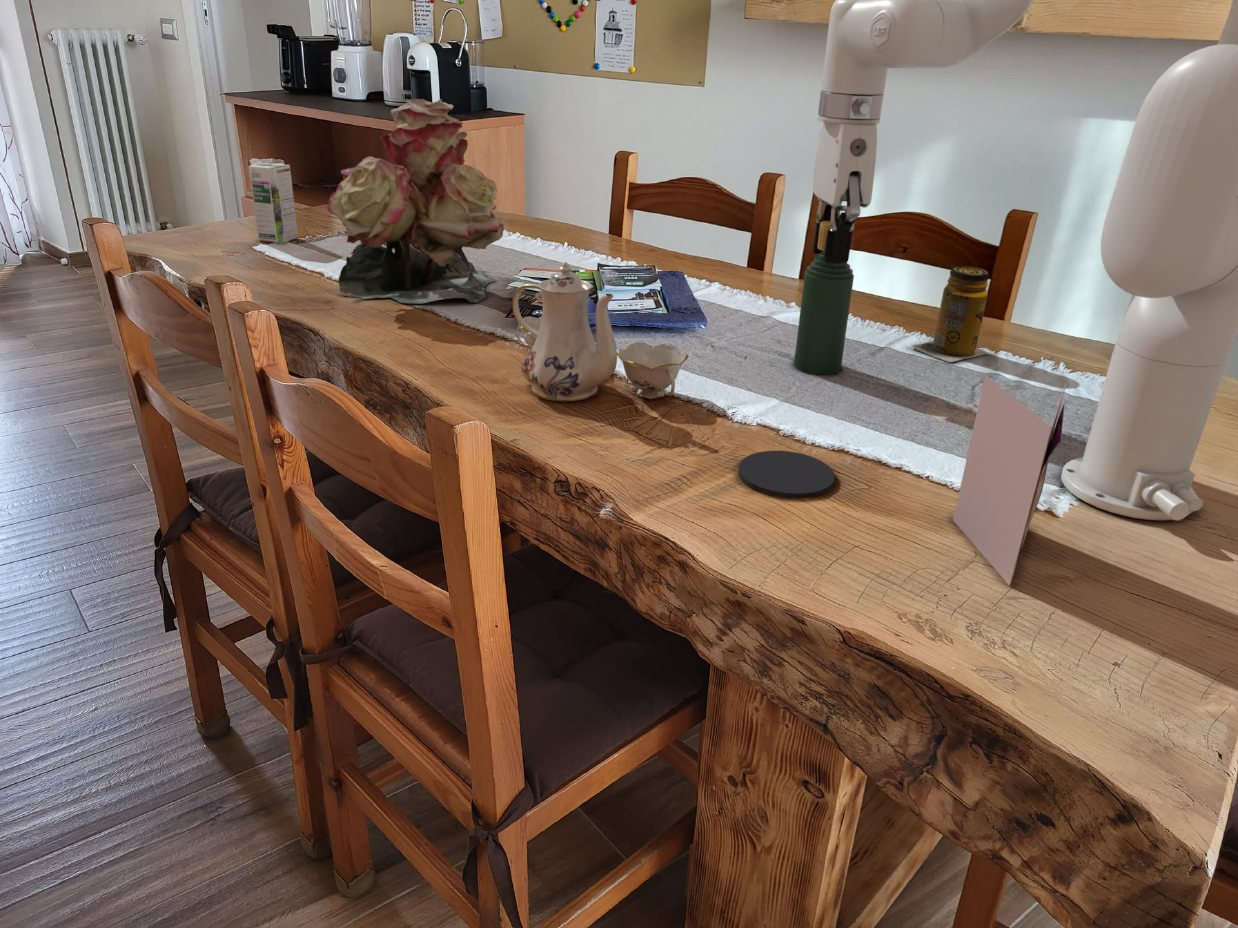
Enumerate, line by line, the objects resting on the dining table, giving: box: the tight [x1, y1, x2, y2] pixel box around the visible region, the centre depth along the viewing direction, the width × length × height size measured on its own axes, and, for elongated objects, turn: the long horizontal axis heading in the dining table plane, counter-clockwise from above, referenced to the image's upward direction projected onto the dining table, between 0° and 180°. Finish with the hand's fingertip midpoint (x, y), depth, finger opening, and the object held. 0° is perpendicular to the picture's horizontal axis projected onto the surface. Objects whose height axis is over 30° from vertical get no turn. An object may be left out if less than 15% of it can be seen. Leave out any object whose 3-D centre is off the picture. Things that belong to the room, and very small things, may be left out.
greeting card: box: [952, 374, 1067, 587], centre depth 81 cm, size 11×7×15 cm, turn 151°
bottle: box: [793, 251, 855, 375], centre depth 123 cm, size 6×6×19 cm
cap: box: [817, 221, 831, 251], centre depth 119 cm, size 4×4×3 cm
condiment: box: [910, 265, 990, 363], centre depth 132 cm, size 7×8×12 cm
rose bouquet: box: [326, 98, 505, 305], centre depth 150 cm, size 26×29×30 cm
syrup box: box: [248, 162, 299, 244], centre depth 180 cm, size 6×6×14 cm
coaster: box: [737, 450, 836, 500], centre depth 96 cm, size 10×10×1 cm
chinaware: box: [511, 261, 689, 403], centre depth 115 cm, size 28×17×17 cm, turn 56°
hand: (830, 256), depth 120 cm, fingers closed on cap, 3 cm apart
